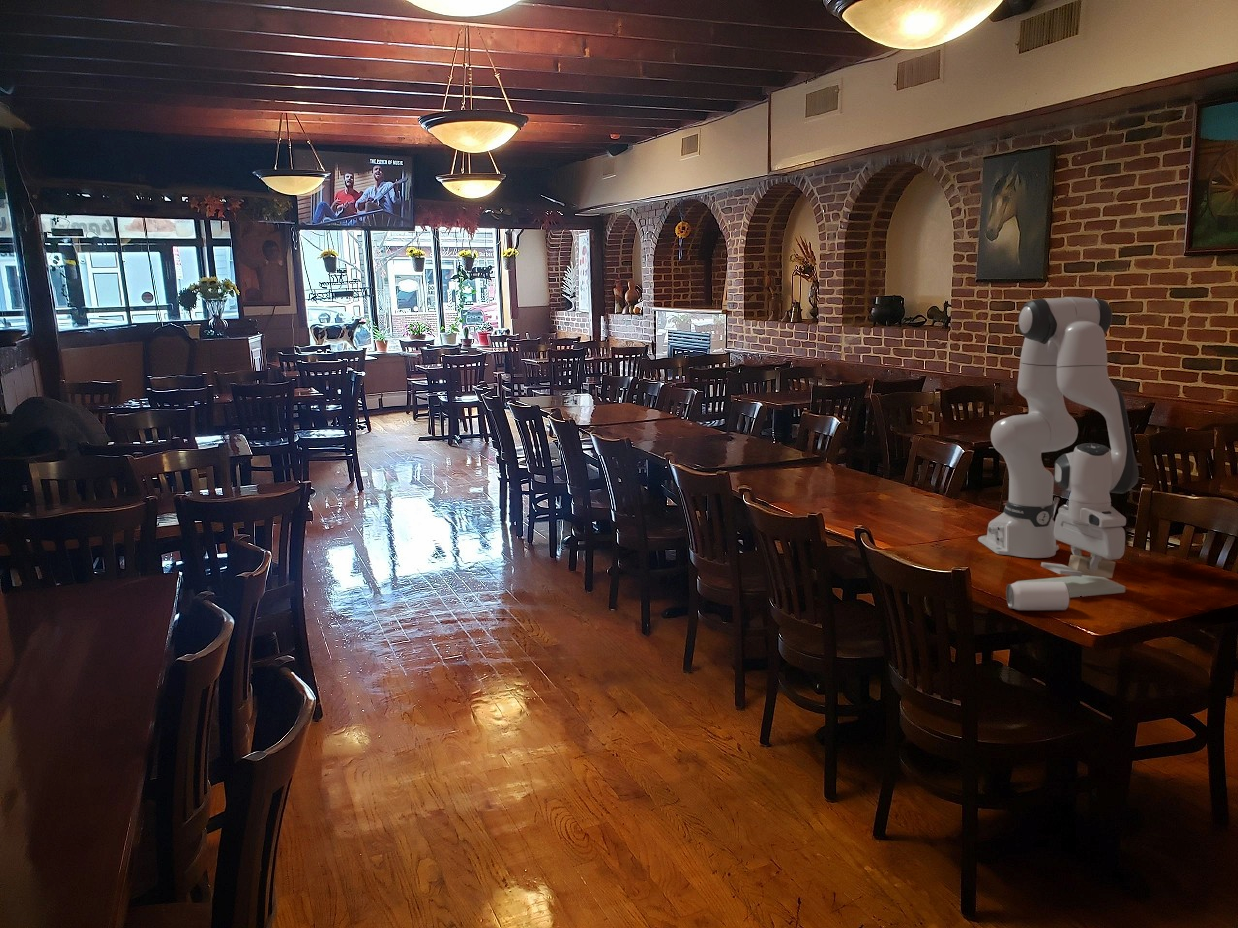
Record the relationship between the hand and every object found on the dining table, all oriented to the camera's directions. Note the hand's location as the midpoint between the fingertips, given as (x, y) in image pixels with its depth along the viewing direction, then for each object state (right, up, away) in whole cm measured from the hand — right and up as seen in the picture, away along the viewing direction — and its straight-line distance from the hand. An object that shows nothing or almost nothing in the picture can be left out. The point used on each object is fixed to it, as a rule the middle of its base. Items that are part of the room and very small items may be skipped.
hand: (1085, 567), depth 210 cm
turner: (-2, -1, 0) cm, 2 cm away
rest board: (-3, -6, +1) cm, 7 cm away
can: (-11, -5, -13) cm, 18 cm away
